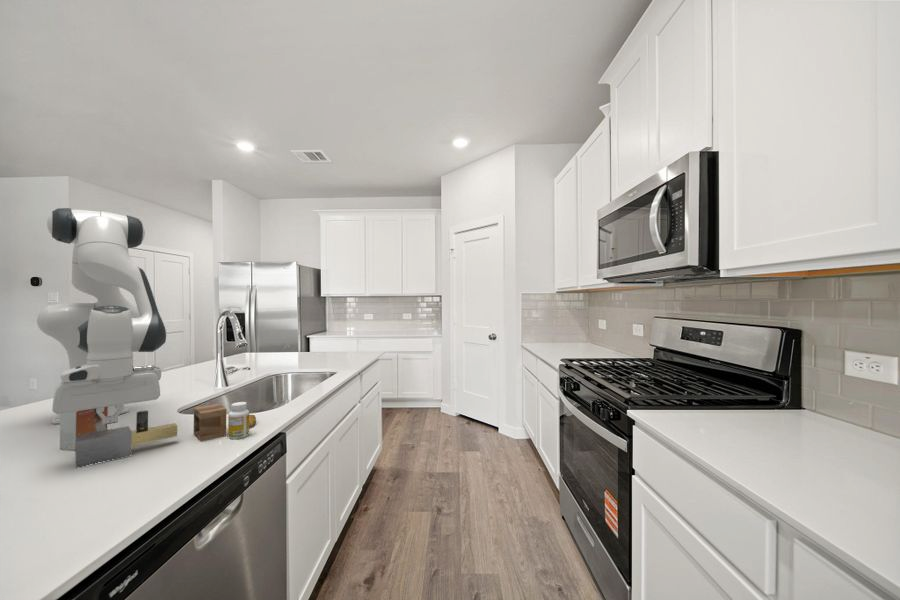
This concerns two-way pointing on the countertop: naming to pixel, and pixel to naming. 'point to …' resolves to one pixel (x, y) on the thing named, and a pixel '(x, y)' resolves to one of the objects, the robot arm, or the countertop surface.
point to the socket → (209, 422)
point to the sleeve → (103, 446)
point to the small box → (79, 426)
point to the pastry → (252, 420)
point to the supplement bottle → (238, 421)
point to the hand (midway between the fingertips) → (109, 423)
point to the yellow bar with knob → (151, 430)
